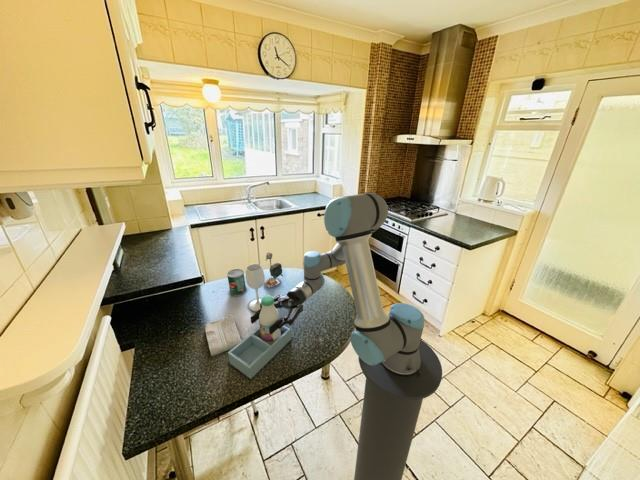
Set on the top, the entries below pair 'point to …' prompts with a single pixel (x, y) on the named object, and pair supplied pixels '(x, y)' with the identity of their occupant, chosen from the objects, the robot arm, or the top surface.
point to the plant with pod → (273, 272)
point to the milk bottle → (268, 320)
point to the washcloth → (222, 335)
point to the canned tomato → (236, 282)
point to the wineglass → (255, 282)
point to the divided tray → (256, 351)
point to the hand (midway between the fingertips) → (260, 325)
